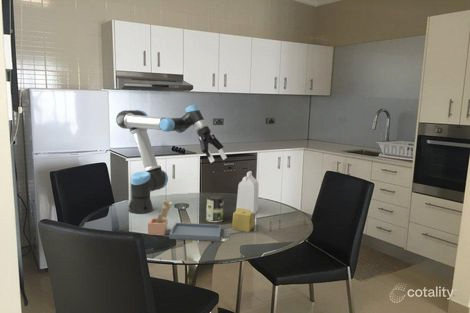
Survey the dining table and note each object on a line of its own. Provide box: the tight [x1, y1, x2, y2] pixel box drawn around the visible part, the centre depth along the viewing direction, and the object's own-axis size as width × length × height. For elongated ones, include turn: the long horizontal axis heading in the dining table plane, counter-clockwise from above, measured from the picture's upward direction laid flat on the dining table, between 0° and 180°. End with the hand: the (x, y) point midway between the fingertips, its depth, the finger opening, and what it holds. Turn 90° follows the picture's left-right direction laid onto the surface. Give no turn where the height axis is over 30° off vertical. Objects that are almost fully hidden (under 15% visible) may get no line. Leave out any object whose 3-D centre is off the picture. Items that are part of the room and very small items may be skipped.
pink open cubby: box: [147, 217, 169, 236], centre depth 203 cm, size 9×9×6 cm
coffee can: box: [205, 194, 225, 223], centre depth 227 cm, size 10×10×14 cm
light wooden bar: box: [156, 199, 173, 223], centre depth 202 cm, size 8×4×16 cm, turn 89°
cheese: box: [231, 208, 256, 233], centre depth 214 cm, size 10×11×10 cm
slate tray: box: [168, 222, 222, 242], centre depth 203 cm, size 26×18×2 cm
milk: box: [235, 170, 259, 215], centre depth 245 cm, size 12×12×26 cm
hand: (219, 160), depth 222 cm, fingers open, 13 cm apart
